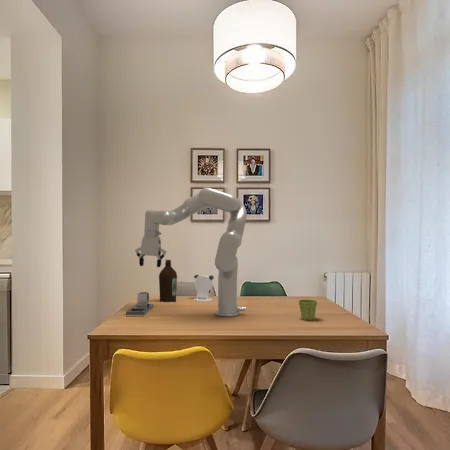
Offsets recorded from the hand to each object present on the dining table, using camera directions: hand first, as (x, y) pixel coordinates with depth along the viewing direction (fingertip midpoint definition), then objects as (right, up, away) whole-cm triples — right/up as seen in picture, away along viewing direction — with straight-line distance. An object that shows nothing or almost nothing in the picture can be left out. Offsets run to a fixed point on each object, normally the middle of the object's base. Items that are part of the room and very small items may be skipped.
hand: (150, 266), depth 215 cm
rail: (-4, -23, -4) cm, 24 cm away
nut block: (-4, -22, +2) cm, 23 cm away
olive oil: (+6, -24, +25) cm, 35 cm away
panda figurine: (+26, -24, +35) cm, 50 cm away
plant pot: (+79, -24, -18) cm, 85 cm away
